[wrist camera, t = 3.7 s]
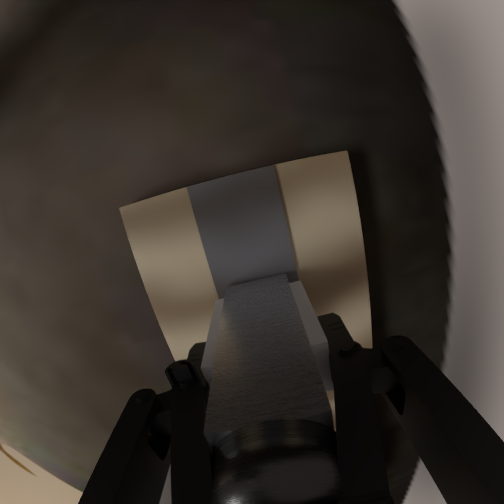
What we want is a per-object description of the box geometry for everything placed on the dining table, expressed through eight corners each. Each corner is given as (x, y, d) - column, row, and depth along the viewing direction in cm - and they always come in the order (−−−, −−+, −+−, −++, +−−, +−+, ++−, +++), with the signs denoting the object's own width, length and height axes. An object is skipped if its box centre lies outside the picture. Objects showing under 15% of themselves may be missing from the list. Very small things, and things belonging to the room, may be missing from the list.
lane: (130, 204, 19) (97, 216, 14) (337, 152, 18) (366, 147, 13) (257, 496, 29) (258, 526, 24) (363, 474, 28) (372, 502, 23)
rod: (213, 286, 18) (162, 501, 5) (296, 267, 17) (386, 469, 4) (259, 422, 21) (267, 575, 8) (321, 408, 21) (361, 559, 8)
